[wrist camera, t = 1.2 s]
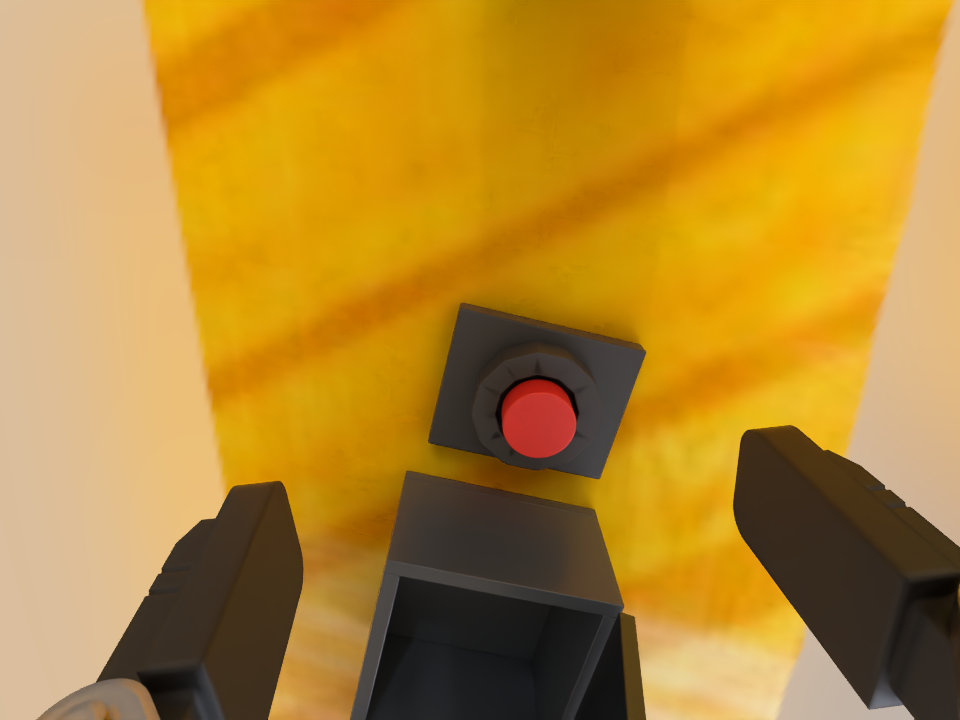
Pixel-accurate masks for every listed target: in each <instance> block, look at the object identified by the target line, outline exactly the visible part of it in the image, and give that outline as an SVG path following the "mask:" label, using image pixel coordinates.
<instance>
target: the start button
mask: <svg viewBox="0 0 960 720" xmlns="http://www.w3.org/2000/svg"><path fill="white" fill-rule="evenodd" d="M501 413H502V426H503V433H504V436H505V439H506V441H507V442H508V444H509V445H510V446H511V447H512V448H513V449H514V450H515V451H517V452H518V453H520V454H522V455H524V456H528V457H532V458H544V457H549V456H552V455H555V454H557V453H559V452H560V451H562V450H563V449H564V448H565V447H566V446H567V445H568V444H569V443H570V442H571V440H572V438H573V436H574V434H575V430H576V417H575V414H574V411H573V408H572V405H571V402H570V399H569V397H568V395H567V394H566V392H565V391H564V390H563V389H562V388H561V387H560V386H559V385H557V384H555V383H553V382H551V381H548V380H542V379H533V380H528V381H525V382H522V383H520V384H518V385H517V386H515V387H514V388H513V389H511V391H510V392H509V393H508V394H507V395H506V397H505V399H504V401H503V404H502V411H501Z"/></svg>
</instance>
